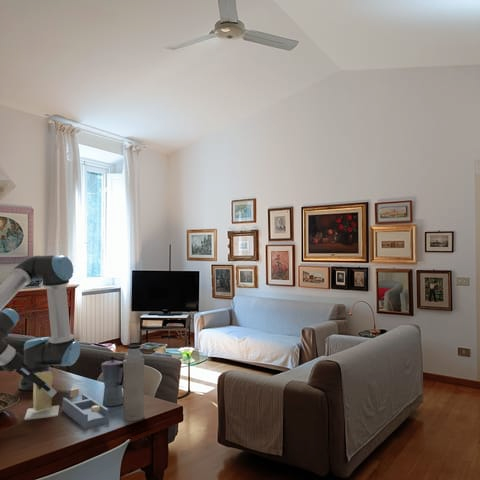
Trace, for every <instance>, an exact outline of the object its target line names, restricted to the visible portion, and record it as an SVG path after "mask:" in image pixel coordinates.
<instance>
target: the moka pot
mask: <svg viewBox="0 0 480 480" xmlns="http://www.w3.org/2000/svg"><path fill="white" fill-rule="evenodd" d="M100 367H101V372H102V373H101V374H102V379H103V380H102V381H103V382H104V383H103V384H104V385H103V386H104V387H103V397H102V405H103V406H104V407H116V406H122V405H123V360H115V356H110V360H108V361H103V362H102V363H101V364H100Z"/></svg>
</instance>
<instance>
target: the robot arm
mask: <svg viewBox="0 0 480 480" xmlns="http://www.w3.org/2000/svg"><path fill="white" fill-rule="evenodd" d="M73 274H74V266H73V263H72V260H71V259H70V258H69V257H67V256H65V255H57V254H56V255H55V254H54V255H53V254H52V255H32V256H31V257H28V258H26V259H24V260H23V261H21V262H20V263H18V264H17V265H15V267H14V268H13V269H12V270H11V271H10V275H9V276H8V277H7V278H6V279H5V280H4V281H3V282H2V283H1V284H0V366H1V368H2V369H3V370H5V371H6V372H8V373H11V372H13V371H15V372H16V373H17V374H19V376H20V375H21V377H20V381H19V383H18V385H19V387H18V389H19V390H22V391H33V383H35V384H36V385H37V386H39V388H38V389H39V390H40V389H42V390H43V391H44V392H46V393H47V394H48V395H50V396H51V397H52V398H53V397H54V396H55V395H56V394H57V393H58V391H57V390H55V389H54V387H53V385H54V377H53V376H52V387H50V386H49V385H48V384H47V383H45V382H44V381H42V380H41V379H40V378H39V377H37V376H36V375H35V374H34V373H39V372H45V371H50V372H52V371H51V370H50V369H51V368H50V367H51V366H58V367H59V366H61V367H66V366H68V367H70V366H72V365H74V364H75V363H76V362H77V360H78V359H79V357H80V355H81V344H80V343H79V341H77V340H75V335H74V334H72V333H71V325H70V316H69V315H70V314H69V305H68V304H69V303H68V293H67V285H68V284H69V283H70V280H71V278H73ZM34 281H42V282H41V283H42V286H43V287H44V288H46V294H47V295H46V296H47V306H48V307H47V308H48V316H49V317H48V318H49V324H50V333H51V334H50V336H44V337H38V338H33V339H29V340H26V341H25V342H24V343H23V355H22V354H21V353H20V352H19V351H17V350H16V348H14V347H13V346H11V345H10V344H9V343H8V342H7V341H5V340H6V339H7V337H8V336H9V334H10V333H11V332H12V330H13V329H14V328H15V327H16V325H17V323H18V322H19V320H20V315H19V313H18V312H17V311H16V310H15V309H14V308H13V309H12V308H6V307H5V306H6V305H8V304H9V303H10V301H11V300H12V299H13V298H14V297H15V296H16V295H17V294H18V293H19V292H20V291H21V290H22V289H23V288H24V287H25V286H28V285H29V284H31V283H32V282H34Z"/></svg>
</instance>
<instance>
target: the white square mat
mask: <svg viewBox="0 0 480 480" xmlns="http://www.w3.org/2000/svg"><path fill="white" fill-rule="evenodd" d="M59 409H60V405H52V408H48V409H43V410H39V411H35V410H34V409H33V407H31V408H27V410H26V413H25V416H24V418H23V420H24V421H28V420H29V421H30V420H36V419H38V420H39V419H43V418H44V419H45V418H52V417H53V418H55V417H58V416H59Z"/></svg>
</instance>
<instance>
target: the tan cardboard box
mask: <svg viewBox="0 0 480 480" xmlns="http://www.w3.org/2000/svg"><path fill="white" fill-rule="evenodd" d="M50 371H51V370H50ZM50 371H45V372H39V373H34V374H35V375H36V376H37V377H39V378H40V379H41V380H42V381H44V382H45V383H47V384H48V385H49V386H50V387H52V388H53V385H52V377H53V372H52V371H51V372H50ZM38 388H39V386H37V385H36V384H35V383H33V390H32V391H33V392H32V408H33V409H34V410H35V411H39V410H43V409H48V408H52V406H53V405H52V403H53V401H52V400H53V397H51V396H50V395H48V394H47V393H46V392H44V391H43V390H42V389H40V390H39V389H38Z"/></svg>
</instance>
